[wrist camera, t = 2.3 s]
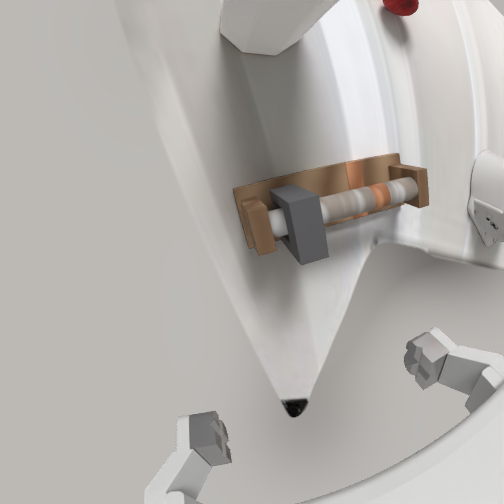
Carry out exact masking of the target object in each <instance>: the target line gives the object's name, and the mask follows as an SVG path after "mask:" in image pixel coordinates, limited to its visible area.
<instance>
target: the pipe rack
mask: <svg viewBox="0 0 504 504" xmlns="http://www.w3.org/2000/svg"><path fill="white" fill-rule="evenodd" d="M291 184H295V185H297V186H299V187H302V188H304V189H306V190H308V191H311V192H313V193H315V194H317V195H319V199H320V204H321V210H322V216H323V222H324V227H327V226H331V225H334V224H338V223H341V222H345V221H348V220H352V219H356V218H360V217H363V216H367V215H369V214H373V213H376V212H380V211H383V210H387V209H390V208H394V207H397V206H401V205H404V203H407V204H409V205H412V206H415V207H417V208H422V207H425V206H428V205H429V191H428V177H427V169H425V168H420V167H414V166H409V165H403V164H401V163H400V156H399V153H393V154H387V155H381V156H375V157H370V158H364V159H359V160H354V161H349V162H344V163H339V164H334V165H329V166H324V167H320V168H315V169H311V170H306V171H302V172H297V173H293V174H289V175H285V176H281V177H277V178H273V179H269V180H265V181H261V182H257V183H253V184H250V185H246V186H242V187H239V188H235V189H233V192H234V196H235V199H236V203H237V207H238V210H239V214H240V218H241V221H242V225H243V229H244V232H245V236H246V240H247V243H248V247H249V249H251V248H255V249H256V251H257V253H258V255H259V256H261V255H264V254H268V253H271V252H275V251H277V249H276V245H275V241H279V240H281V238H280V237H281V236H284V235H287V234H288V230H287V226H286V221H285V216H284V212H283V208H279V209H276V210H274V208H273V203H272V199H271V195H270V191H269V190H271V189H275V188H279V187H283V186H287V185H291Z"/></svg>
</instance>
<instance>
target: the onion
mask: <svg viewBox="0 0 504 504" xmlns="http://www.w3.org/2000/svg"><path fill="white" fill-rule="evenodd" d="M383 3H384V5H385V6H386V8H387V9H388V10H390V11H391V12H392V13H394V14H397V15H400V16H409V15H412V14H413V13H415V12H416V11H417V9H418V4H419V2H418V0H383Z"/></svg>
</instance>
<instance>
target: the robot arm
mask: <svg viewBox="0 0 504 504" xmlns="http://www.w3.org/2000/svg"><path fill="white" fill-rule="evenodd" d="M468 212H469V214H470V216H471V218H472V220H473V221H474V223H475V225H476V227H477V229H478V231H479V233H480V235H481V237H482V239H483V241H484V243H485V245H486V246H488V247H489V246H491V245H493V244H494V243H495V242H496V241H497V240H499V241H501V242H504V158H503V157H501V156H499V155H497V154H495V153H493V152H491V151H489V150H485V151H483V152H481V153H480V155H479V156H478V158H477V159H476V162H475V165H474V168H473V172H472V179H471V196H470V200H469V204H468ZM406 349H407V350H408V351H407V353H406V354H405V356H404V363H405V367H406V368H407V371H408V372H409V373H410V374H412V375H415V376H416V377H415V378H416V382H417V383H418V384H419V385H420V387H421V388H422V389H423V390H424V389H426V388H427V387H429V386H431V385H432V384H434V383H436V382H437V381H438V382H439V383H441V384H443V385H446V386H448V387H450V388H453V389H455V390H458V391H460V392H463V393H465V394H468V395H470V396H469V398H468V400H467V401H466V404H465V407H466V408H467V409H468V411H469V412H470V413H471V414H470V415H469V416H467V417H466V418H465V419H464V420H462V422H460V423H459V424H457V425H456V426H455V427H454V428H452V429H451V430H449V431H448V432H447V433H445V434H444V435H442V436H441V437H439V438H438V439H437V440H435V441H434V442H432V443H431V444H429V445H427V446H426V447H424V448H423V449H421V450H420V451H418V452H416V453H415V454H413V455H411V456H409V457H408V458H406V459H404V460H402V461H401V462H399V463H397V464H395V465H393V466H392V467H389V468H388V469H386V470H384V471H382V472H380V473H378V474H375V475H373V476H371V477H369V478H367V479H365V480H362V481H360V482H358V483H355V484H353V485H350V486H348V487H346V488H343V489H340V490H338V491H335V492H332V493H329V494H327V495H323V496H321V497H317V498H314V499H311V500H308V501H305V502H301V503H297V504H504V358H503V356H501V355H500V354H496V353H492V352H487V351H483V350H478V349H474V348H469V347H465V346H461V345H460V346H457V345H456V344H454V343H453V342H452V341H451V340H450V339H449V338H448V337H447V336H446V335H445V334H444V333H443V332H441V331H440V330H439V329H438V328H436V327H434V328H432V329H430V330H428V331H427V332H424V333H422V334H421V335H419V336H417V337H415V338H414V339H412V340H410V341H408V343H407V345H406ZM176 428H177V429H176V431H177V432H176V451H173V452H172V453H171V455H170V456H169V458H168V459H167V460H166V462H165V463H164V465H163V466H162V467H161V469H160V470H159V471H158V473H157V474H156V476H155V477H154V479H153V480H152V481H151V483H150V484H149V485H148V487H147V488H146V489H145V491H144V504H201V503H199V502H198V501H196V498H197V496H198V494H199V492H200V491H201V489H202V487H203V484H204V483H205V481H206V479H207V476H208V474H209V472H210V470H211V468H212V467H211V466H217V465H222V464H228V463H232V461H231V454H230V449H229V448H228V446H227V445H226V444H227V442H228V434H227V431H226V427H225V425H224V423H223V422H222V421H221V420H219V417H218V414H217V412H216V411H211V412H206V413H199V414H193V415H186V416H180V417H178V418H177V427H176Z"/></svg>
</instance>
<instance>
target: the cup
mask: <svg viewBox="0 0 504 504" xmlns="http://www.w3.org/2000/svg"><path fill="white" fill-rule="evenodd" d="M338 1H339V0H223V5H222V13H221V23H220V33H221V34H222V35H223V36H225V37H226V38H227V39H228V40H229V41H230V42H231V43H232V44H234V45H235V46H236V47H237V48H238V49H239V50H240V51H241V52H243V53H255V54H265V55H274V56H275V55H278V54H279V53H281V52H282V51H284V50H285V49H287V48H288V47H290V46H291V45H293V44H295V43H296V42H298V41H299V40H300V39H301V38H302V37H303V36H304V34H305V33H306V32H307V31H308V30H309V29H310V28H311V27H312V26H313V25H314V24H315V23H316V22H317V21H318V20H319V19H320V18H321V17H322V16H323V15H324V14H325V13H326V12H327V11H328V10H329V9H330V8H332V7H333V6H334V5H335V4H336V3H337V2H338Z"/></svg>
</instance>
